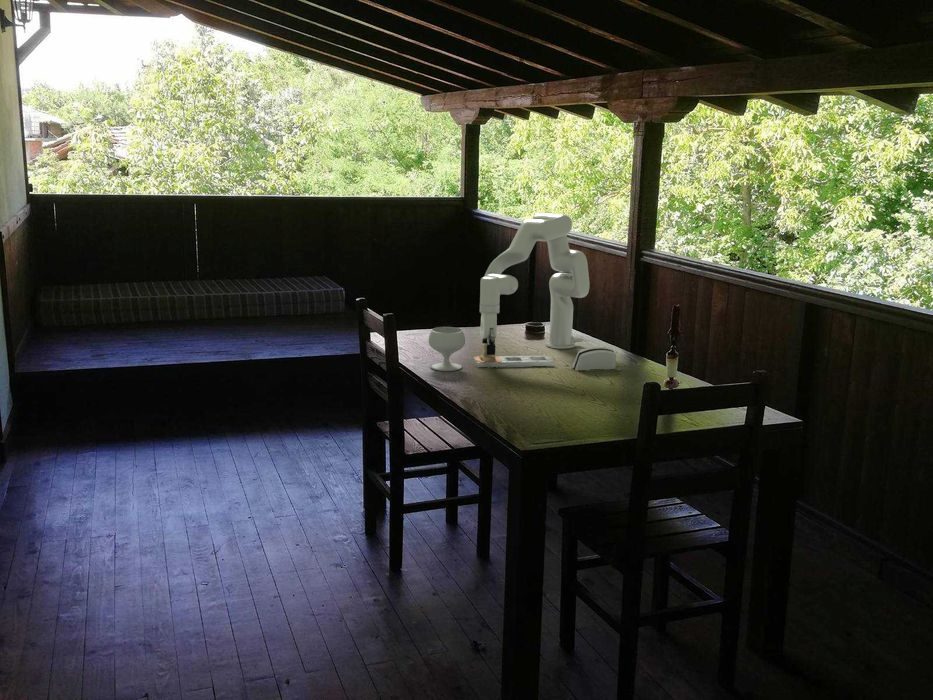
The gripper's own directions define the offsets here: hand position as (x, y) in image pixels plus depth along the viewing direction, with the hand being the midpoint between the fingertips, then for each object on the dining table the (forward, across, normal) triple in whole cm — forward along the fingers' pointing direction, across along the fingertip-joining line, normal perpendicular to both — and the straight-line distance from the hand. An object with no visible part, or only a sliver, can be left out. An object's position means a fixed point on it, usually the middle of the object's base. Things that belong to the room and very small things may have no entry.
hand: (488, 351), depth 342 cm
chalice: (+5, +4, -17) cm, 18 cm away
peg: (+5, 0, 0) cm, 5 cm away
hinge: (+6, +11, +40) cm, 42 cm away
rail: (+5, 0, +10) cm, 11 cm away
